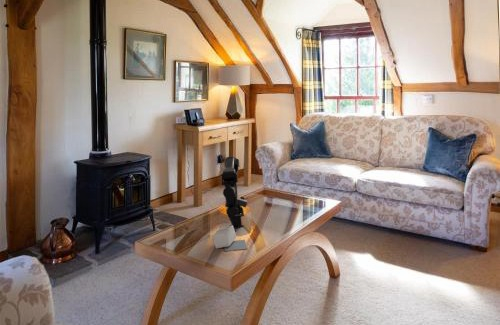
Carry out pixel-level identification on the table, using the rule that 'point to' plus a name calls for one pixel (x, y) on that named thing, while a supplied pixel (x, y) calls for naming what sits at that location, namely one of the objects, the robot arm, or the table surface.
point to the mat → (236, 245)
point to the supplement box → (224, 236)
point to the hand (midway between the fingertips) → (232, 223)
